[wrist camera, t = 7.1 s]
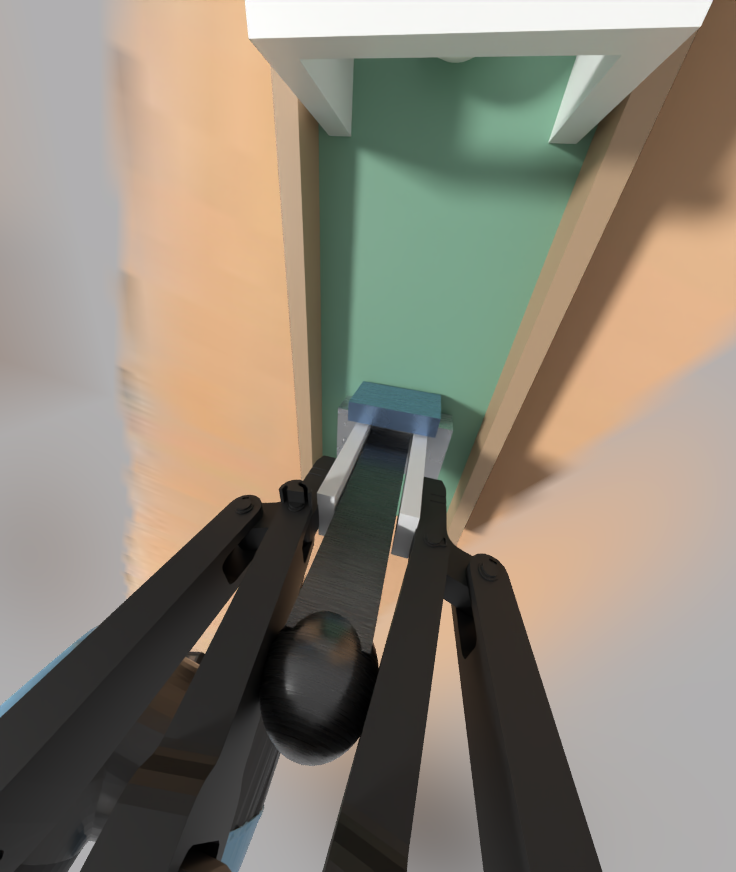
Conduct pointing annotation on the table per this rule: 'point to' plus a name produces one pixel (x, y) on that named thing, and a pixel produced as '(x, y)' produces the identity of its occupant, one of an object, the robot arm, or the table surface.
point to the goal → (471, 45)
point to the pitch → (444, 240)
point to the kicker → (347, 583)
